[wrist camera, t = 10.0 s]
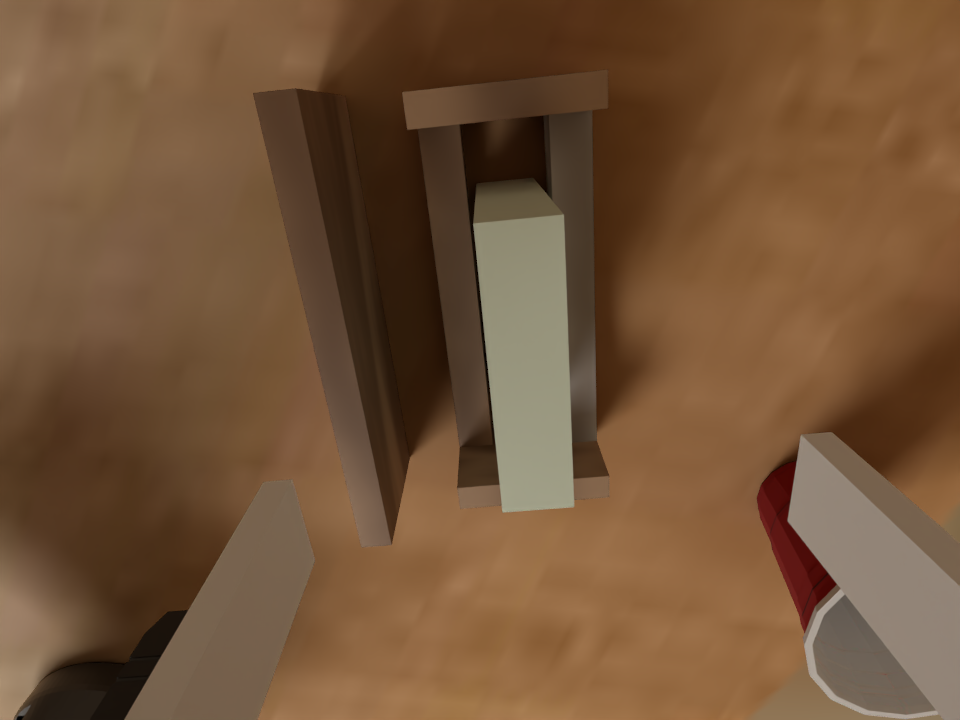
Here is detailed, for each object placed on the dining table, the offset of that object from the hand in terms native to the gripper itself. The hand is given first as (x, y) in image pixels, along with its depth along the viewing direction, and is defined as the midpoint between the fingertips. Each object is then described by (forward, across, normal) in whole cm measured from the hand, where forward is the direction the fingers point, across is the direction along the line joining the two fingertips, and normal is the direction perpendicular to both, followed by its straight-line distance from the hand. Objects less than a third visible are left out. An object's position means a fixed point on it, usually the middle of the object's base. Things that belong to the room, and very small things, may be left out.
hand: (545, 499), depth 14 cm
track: (+19, -2, 0) cm, 19 cm away
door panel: (+19, 0, 0) cm, 19 cm away
